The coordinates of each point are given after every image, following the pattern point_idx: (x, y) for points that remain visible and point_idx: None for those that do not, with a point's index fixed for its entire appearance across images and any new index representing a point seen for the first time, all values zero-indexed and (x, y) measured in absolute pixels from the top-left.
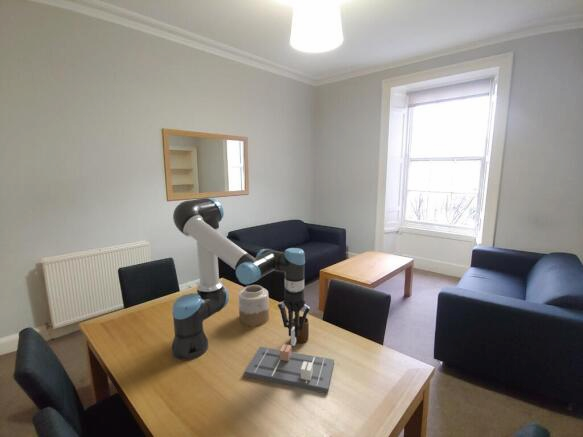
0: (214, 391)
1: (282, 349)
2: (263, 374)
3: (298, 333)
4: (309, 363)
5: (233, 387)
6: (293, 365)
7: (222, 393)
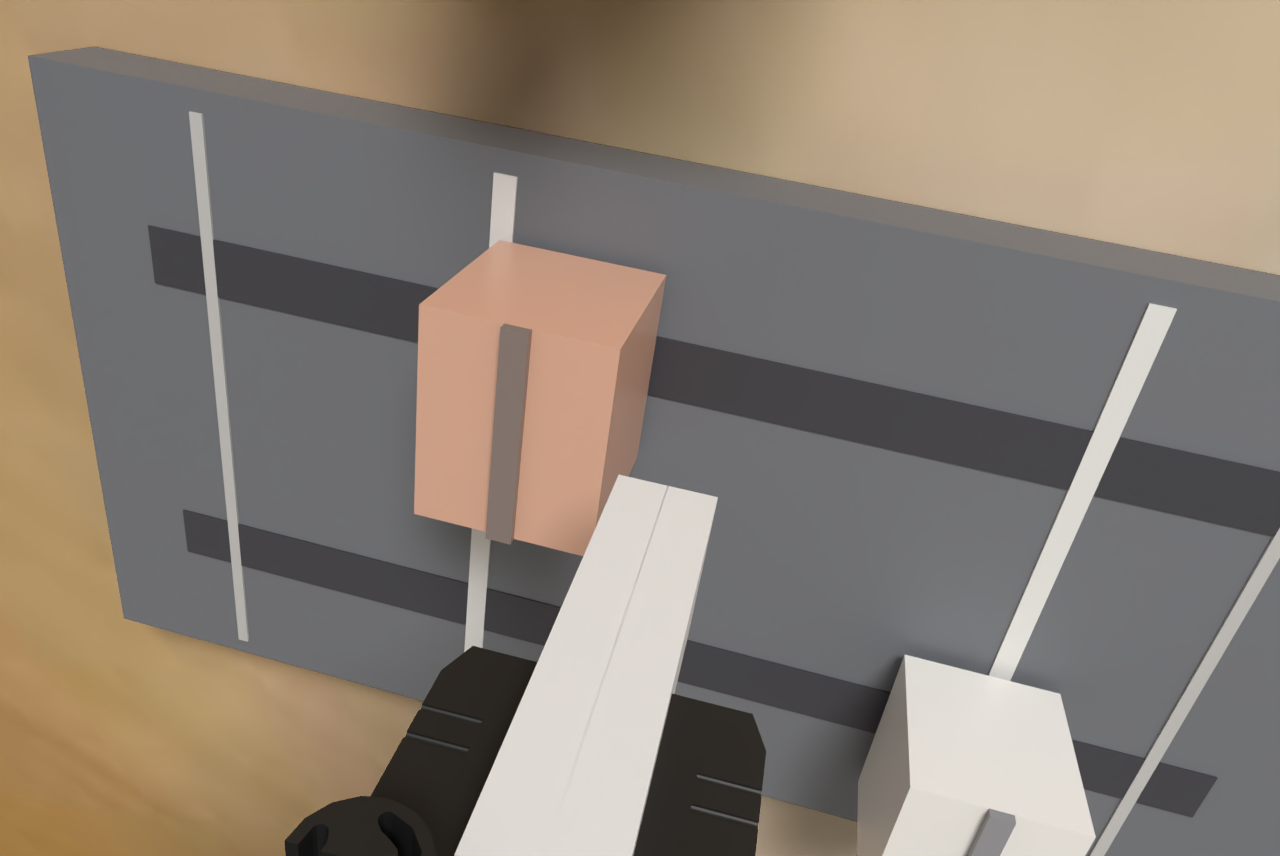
0: (28, 736)
1: (455, 482)
2: (359, 672)
3: (752, 828)
4: (1021, 844)
5: (151, 708)
6: (733, 531)
7: (104, 759)
